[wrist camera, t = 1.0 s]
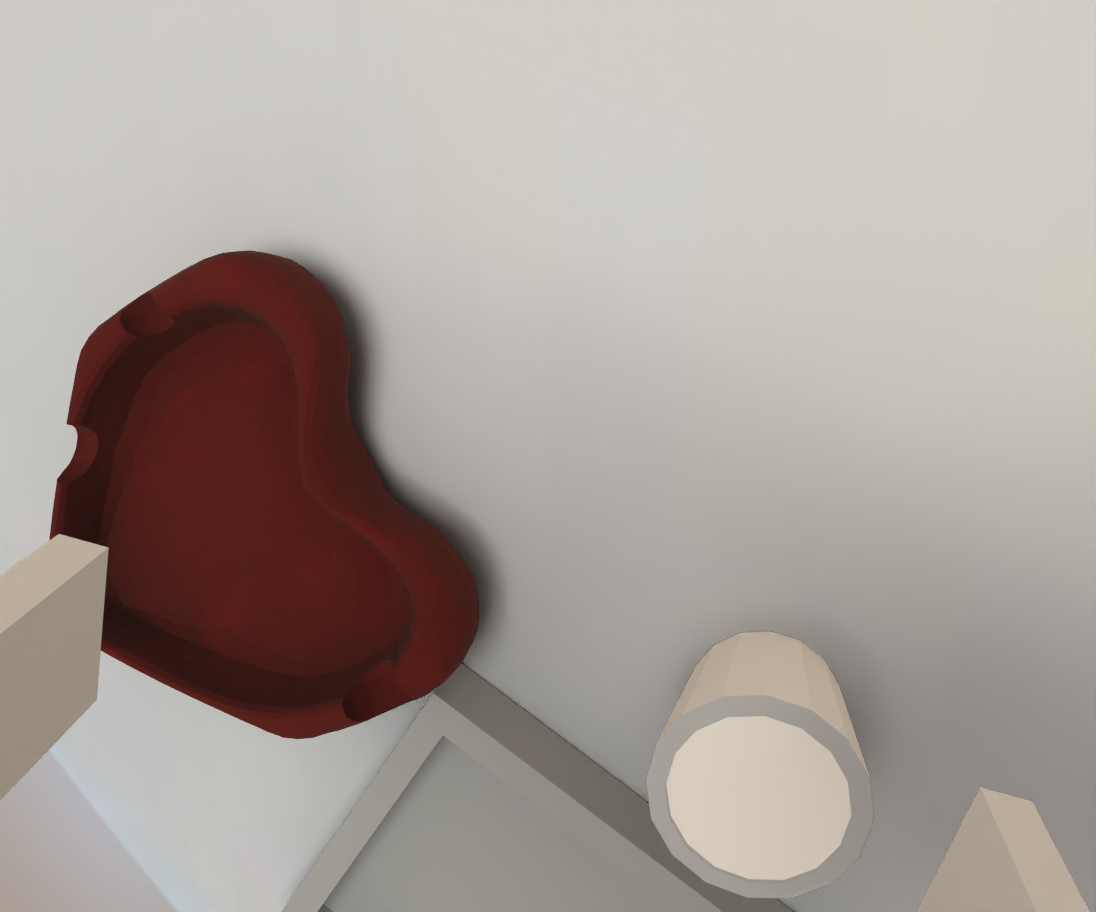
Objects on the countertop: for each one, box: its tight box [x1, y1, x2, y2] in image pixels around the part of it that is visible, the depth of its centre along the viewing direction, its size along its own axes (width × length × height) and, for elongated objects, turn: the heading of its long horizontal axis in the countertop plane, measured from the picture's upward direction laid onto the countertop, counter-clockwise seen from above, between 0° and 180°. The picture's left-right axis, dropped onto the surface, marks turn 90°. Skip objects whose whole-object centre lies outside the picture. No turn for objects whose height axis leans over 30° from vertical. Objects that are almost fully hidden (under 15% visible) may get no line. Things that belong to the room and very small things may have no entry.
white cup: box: [646, 631, 874, 899], centre depth 33 cm, size 7×7×7 cm
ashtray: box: [49, 251, 479, 739], centre depth 38 cm, size 18×16×5 cm
